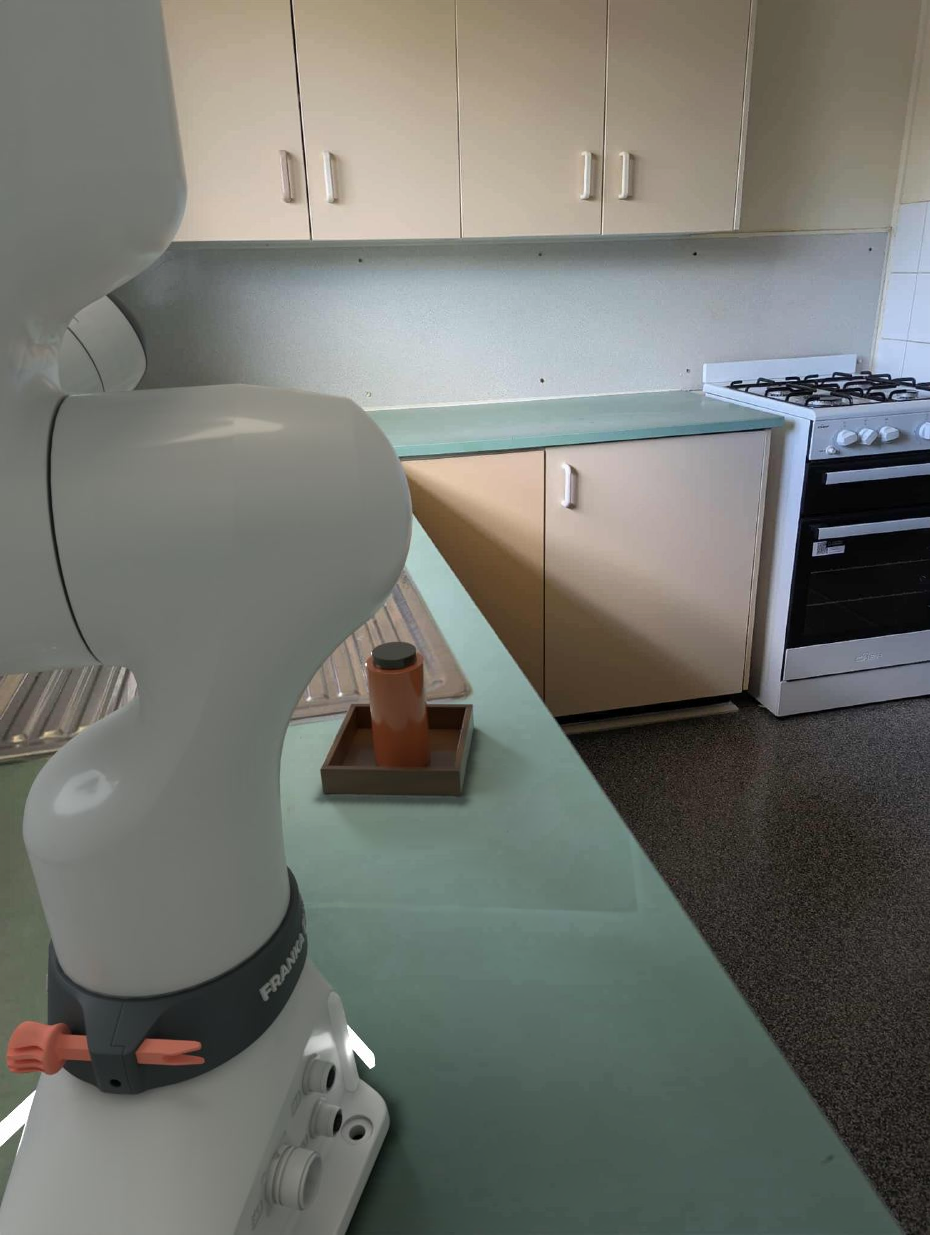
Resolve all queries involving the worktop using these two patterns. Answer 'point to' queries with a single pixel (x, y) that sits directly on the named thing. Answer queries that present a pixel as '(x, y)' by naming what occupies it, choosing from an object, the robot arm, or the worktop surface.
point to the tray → (360, 775)
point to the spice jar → (398, 705)
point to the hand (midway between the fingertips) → (252, 586)
